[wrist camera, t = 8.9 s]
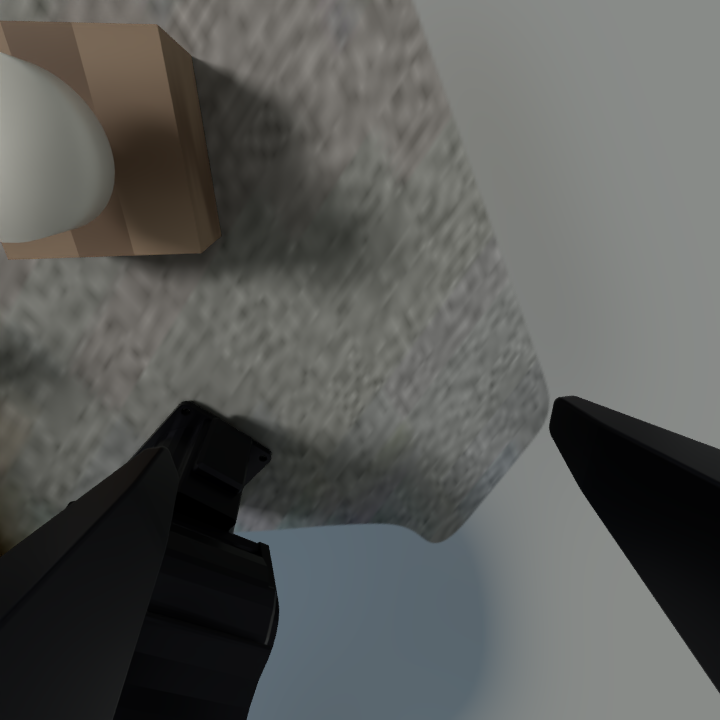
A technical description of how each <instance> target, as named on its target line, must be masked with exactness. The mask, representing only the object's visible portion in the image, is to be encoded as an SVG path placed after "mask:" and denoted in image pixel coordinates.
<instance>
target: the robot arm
mask: <svg viewBox="0 0 720 720" xmlns="http://www.w3.org/2000/svg"><path fill="white" fill-rule="evenodd" d="M184 408H186V409H189V410H190V412H186V411H184V410H183V409H184ZM549 430H550V434H551V436H552V438H553V440H554V442H555V444H556V446H557V447H558V449H559V451H560V453H561V455H562V457H563V458H564V460H565V462H566V464H567V466H568V468H569V469H570V471H571V473H572V475H573V477H574V479H575V481H576V482H577V484H578V486H579V487H580V489H581V491H582V492H583V494H584V495H585V497H586V498H587V500H588V501H589V503H590V504H591V506H592V507H593V509H594V510H595V512H596V513H597V515H598V516H599V518H600V519H601V520H602V522H603V523H604V525H605V526H606V528H607V529H608V531H609V532H610V534H611V535H612V536H613V538H614V539H615V541H616V542H617V544H618V545H619V547H620V548H621V550H622V551H623V552H624V554H625V556H626V557H627V558H628V560H629V561H630V563H631V564H632V566H633V567H634V569H635V570H636V571H637V573H638V575H639V576H640V577H641V579H642V580H643V582H644V583H645V585H646V586H647V588H648V589H649V591H650V592H651V594H652V595H653V597H654V598H655V599H656V601H657V602H658V604H659V605H660V607H661V608H662V610H663V611H664V613H665V614H666V615H667V617H668V618H669V620H670V621H671V623H672V624H673V626H674V627H675V629H676V630H677V632H678V633H679V635H680V636H681V638H682V639H683V640H684V642H685V643H686V645H687V646H688V648H689V649H690V651H691V652H692V654H693V655H694V657H695V658H696V659H697V661H698V662H699V664H700V665H701V667H702V668H703V670H704V671H705V673H706V674H707V676H708V677H709V678H710V680H711V681H712V683H713V684H714V686H715V687H716V689H717V690H718V692H719V693H720V449H717V448H715V447H712V446H709V445H707V444H704V443H701V442H698V441H695V440H693V439H690V438H687V437H685V436H682V435H679V434H677V433H674V432H671V431H669V430H666V429H663V428H661V427H658V426H655V425H652V424H650V423H647V422H644V421H642V420H639V419H636V418H633V417H630V416H628V415H625V414H622V413H620V412H617V411H614V410H612V409H609V408H607V407H604V406H601V405H598V404H595V403H593V402H590V401H588V400H585V399H582V398H579V397H577V396H565V397H559V398H557V399H556V400H555V401H554V404H553V409H552V414H551V419H550V424H549ZM271 454H272V453H271V451H270V450H269V449H267V448H266V447H264V446H262V445H261V444H259V443H257V442H256V441H254V440H253V439H252V438H251V437H249V436H247V435H246V434H244V433H242V432H241V431H239V430H238V429H236V428H234V427H233V426H231V425H229V424H228V423H226V422H225V421H223V420H221V419H220V418H217V417H215V416H214V415H212V414H210V413H209V412H207V411H205V410H204V409H202V408H200V407H199V406H197V405H196V404H194V403H192V402H190V401H184V402H181V403H180V404H179V405H178V406H177V407H176V409H175V410H174V411H173V412H172V413H171V414H170V415H169V416H168V417H167V419H166V420H165V421H164V422H163V423H162V424H161V425H160V426H159V428H158V429H157V430H156V431H155V432H154V433H153V434H152V435H151V436H150V438H149V439H148V440H147V441H146V442H145V443H144V444H143V445H142V446H141V448H140V449H139V450H138V451H137V452H136V453H135V454H134V455H133V457H132V458H131V459H130V460H129V461H128V462H127V463H126V464H125V465H123V466H122V467H121V468H119V469H118V470H117V471H115V472H114V473H112V474H111V475H110V476H108V477H107V478H106V479H104V480H103V481H102V482H100V483H99V484H98V485H96V486H95V487H94V488H92V489H91V490H90V491H88V492H87V493H86V494H84V495H83V496H82V497H80V498H79V499H78V500H76V501H72V502H70V503H69V504H68V506H67V507H66V508H65V509H64V510H63V511H61V512H60V513H59V514H57V515H56V516H55V517H53V518H52V519H51V520H49V521H48V522H47V523H45V524H44V525H43V526H41V527H40V528H39V529H37V530H36V531H35V532H33V533H32V534H31V535H29V536H28V537H27V538H25V539H24V540H23V541H21V542H20V543H19V544H17V545H16V546H14V547H13V548H12V549H10V550H9V551H8V552H6V553H5V554H4V555H2V556H1V557H0V720H247V716H248V712H249V708H250V705H251V702H252V699H253V696H254V693H255V690H256V687H257V684H258V681H259V678H260V676H261V674H262V672H263V669H264V667H265V664H266V663H267V661H268V658H269V655H270V653H271V650H272V647H273V644H274V640H275V636H276V632H277V627H278V620H279V602H278V596H277V591H276V585H275V579H274V573H273V568H272V561H271V556H270V550H269V546H268V545H266V544H264V543H261V542H259V543H256V542H253V541H250V540H248V539H245V538H243V537H240V536H238V535H235V534H233V532H234V527H235V523H236V520H237V515H238V510H239V505H240V500H241V495H242V490H243V488H244V486H245V485H246V484H247V483H248V482H249V481H250V480H251V479H252V478H253V477H254V476H255V475H256V474H257V473H258V472H260V471H261V470H262V469H263V468H264V467H265V466H266V465H267V464H268V463H269V462H270V460H271ZM261 455H264V456H266V457H261Z"/></svg>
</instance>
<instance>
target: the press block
mask: <svg viewBox="0 0 720 720" xmlns="http://www.w3.org/2000/svg"><path fill="white" fill-rule="evenodd" d="M0 52H2V53H5V54H7V55H10V56H13V57H16V58H19V59H21V60H24V61H27V62H30V63H33V64H35V65H37V66H39V67H41V68H43V69H45V70H47V71H49V72H50V73H52V74H54V75H55V76H57V77H58V78H60V79H61V80H62V81H63V82H65V83H66V84H67V85H69V86H70V87H71V88H72V89H73V90H74V91H75V92H76V93H77V94H78V95H79V96H80V97H81V98H82V99H83V100H84V101H85V102H86V104H87V105H88V106H89V107H90V109H91V110H92V111H93V113H94V114H95V116H96V117H97V119H98V120H99V122H100V124H101V126H102V127H103V129H104V132H105V134H106V136H107V138H108V141H109V144H110V147H111V150H112V154H113V159H114V168H115V180H114V187H113V192H112V194H111V197H110V200H109V202H108V204H107V205H106V207H105V209H104V210H103V211H102V212H101V214H100V215H99V216H97V217H96V218H95V219H94V220H93V221H91V222H89V223H88V224H86V225H84V226H81V227H79V228H76V229H73V230H69V231H66V232H62V233H59V234H55V235H52V236H48V237H45V238H41V239H38V240H33V241H29V242H21V243H4V242H1V243H2V245H3V248H4V250H5V253H6V255H7V257H8V260H13V259H43V258H73V257H103V256H132V255H162V254H192V253H202V252H203V251H205V250H206V249H207V248H208V247H209V246H210V245H212V244H213V243H214V242H215V241H216V240H217V239H219V238H220V237H221V230H220V224H219V218H218V212H217V206H216V200H215V194H214V188H213V182H212V176H211V170H210V164H209V158H208V152H207V146H206V140H205V134H204V128H203V122H202V116H201V110H200V104H199V98H198V92H197V86H196V80H195V74H194V68H193V62H192V56H191V55H190V54H189V53H188V52H187V51H186V50H185V49H183V48H182V47H181V46H180V45H179V44H178V43H177V42H176V41H175V40H174V39H172V38H171V37H170V36H169V35H168V34H167V33H166V32H165V31H164V30H163V29H161V28H160V27H159V26H158V25H157V24H115V23H74V22H32V21H0Z"/></svg>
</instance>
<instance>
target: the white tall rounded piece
mask: <svg viewBox="0 0 720 720" xmlns="http://www.w3.org/2000/svg"><path fill="white" fill-rule="evenodd" d="M114 180H115V168H114V159H113V154H112V150H111V147H110V144H109V141H108V138H107V136H106V134H105V132H104V129H103V127H102V126H101V124H100V122H99V120H98V119H97V117H96V116H95V114H94V113H93V111H92V110H91V109H90V107H89V106H88V105H87V104H86V102H85V101H84V100H83V99H82V98H81V97H80V96H79V95H78V94H77V93H76V92H75V91H74V90H73V89H72V88H71V87H70V86H69V85H67V84H66V83H65V82H63V81H62V80H61V79H60V78H58V77H57V76H55V75H54V74H52V73H50V72H49V71H47V70H45V69H43V68H41V67H39V66H37V65H35V64H33V63H30V62H27V61H24V60H21V59H19V58H16V57H13V56H10V55H7V54H5V53H2V52H0V242H4V243H21V242H29V241H33V240H38V239H41V238H45V237H48V236H52V235H55V234H59V233H62V232H66V231H69V230H73V229H76V228H79V227H81V226H84V225H86V224H88V223H89V222H91V221H93V220H94V219H95V218H96V217H97V216H99V215H100V214H101V212H102V211H103V210H104V209H105V207H106V205H107V204H108V202H109V200H110V197H111V194H112V192H113V187H114Z"/></svg>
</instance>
